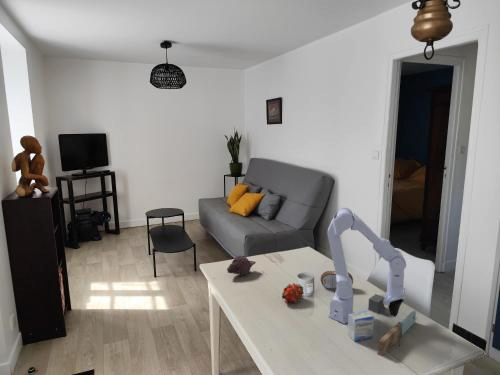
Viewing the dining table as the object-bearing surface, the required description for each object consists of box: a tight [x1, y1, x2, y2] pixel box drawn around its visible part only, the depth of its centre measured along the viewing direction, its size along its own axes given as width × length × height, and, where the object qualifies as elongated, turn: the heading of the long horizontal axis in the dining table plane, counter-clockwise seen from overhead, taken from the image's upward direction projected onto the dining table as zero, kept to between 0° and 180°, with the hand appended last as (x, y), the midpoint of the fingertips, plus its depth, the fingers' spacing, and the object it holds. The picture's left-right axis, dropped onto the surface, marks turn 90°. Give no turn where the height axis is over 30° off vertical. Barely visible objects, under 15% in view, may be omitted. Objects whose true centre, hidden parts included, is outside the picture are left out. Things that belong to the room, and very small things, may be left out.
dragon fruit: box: [281, 282, 305, 304], centre depth 152 cm, size 8×8×12 cm
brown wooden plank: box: [377, 321, 403, 357], centre depth 121 cm, size 16×2×5 cm, turn 133°
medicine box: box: [347, 310, 375, 342], centre depth 126 cm, size 8×4×9 cm, turn 105°
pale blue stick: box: [399, 310, 418, 335], centre depth 130 cm, size 12×2×4 cm, turn 133°
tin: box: [320, 270, 354, 290], centre depth 163 cm, size 15×3×8 cm, turn 84°
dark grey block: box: [367, 293, 385, 314], centre depth 144 cm, size 6×4×5 cm, turn 133°
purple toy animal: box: [226, 255, 256, 276], centre depth 179 cm, size 18×10×10 cm, turn 129°
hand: (393, 315), depth 135 cm, fingers closed
